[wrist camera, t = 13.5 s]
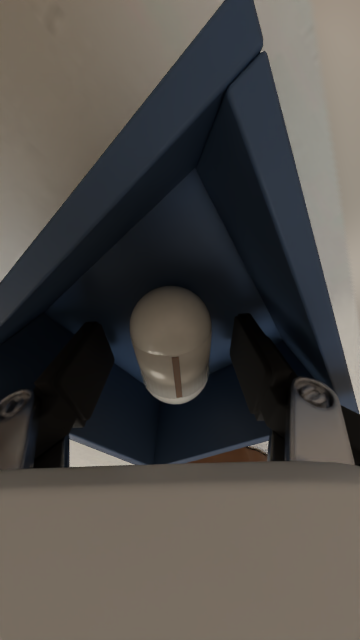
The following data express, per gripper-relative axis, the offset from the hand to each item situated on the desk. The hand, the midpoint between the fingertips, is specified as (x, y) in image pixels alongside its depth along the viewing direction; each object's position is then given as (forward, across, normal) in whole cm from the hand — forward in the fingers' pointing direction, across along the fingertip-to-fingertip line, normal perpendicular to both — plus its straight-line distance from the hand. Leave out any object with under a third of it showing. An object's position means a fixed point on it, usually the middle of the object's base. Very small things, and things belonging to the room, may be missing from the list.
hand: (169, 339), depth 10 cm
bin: (+2, 0, 0) cm, 2 cm away
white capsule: (+1, 0, 0) cm, 1 cm away
